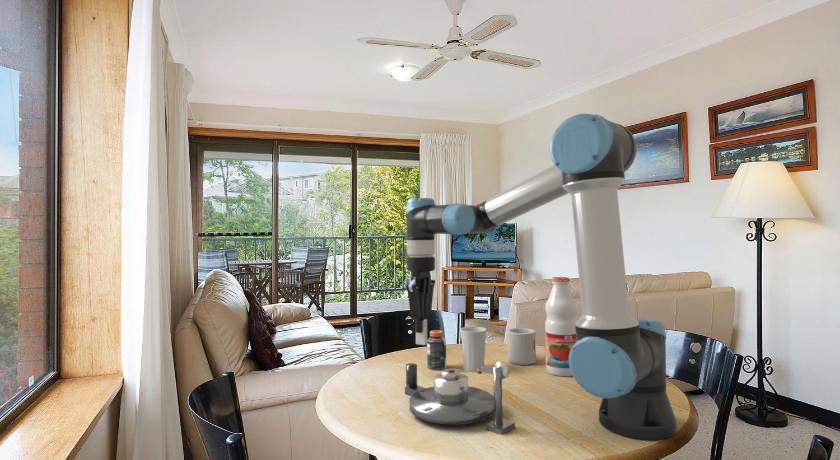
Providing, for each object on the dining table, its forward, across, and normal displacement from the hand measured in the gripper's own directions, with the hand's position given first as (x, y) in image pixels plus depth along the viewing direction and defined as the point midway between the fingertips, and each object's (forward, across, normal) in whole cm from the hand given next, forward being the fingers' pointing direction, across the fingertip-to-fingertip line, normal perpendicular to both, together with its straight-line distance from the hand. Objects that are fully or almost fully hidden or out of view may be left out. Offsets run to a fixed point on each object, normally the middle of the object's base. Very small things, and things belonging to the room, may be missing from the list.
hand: (421, 343), depth 126 cm
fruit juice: (+12, -31, +31) cm, 45 cm away
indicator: (+12, +15, +25) cm, 31 cm away
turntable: (+11, +10, +11) cm, 19 cm away
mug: (+12, -38, +17) cm, 44 cm away
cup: (+12, -24, +6) cm, 28 cm away
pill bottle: (+13, -20, -5) cm, 24 cm away
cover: (+9, +11, +14) cm, 20 cm away
